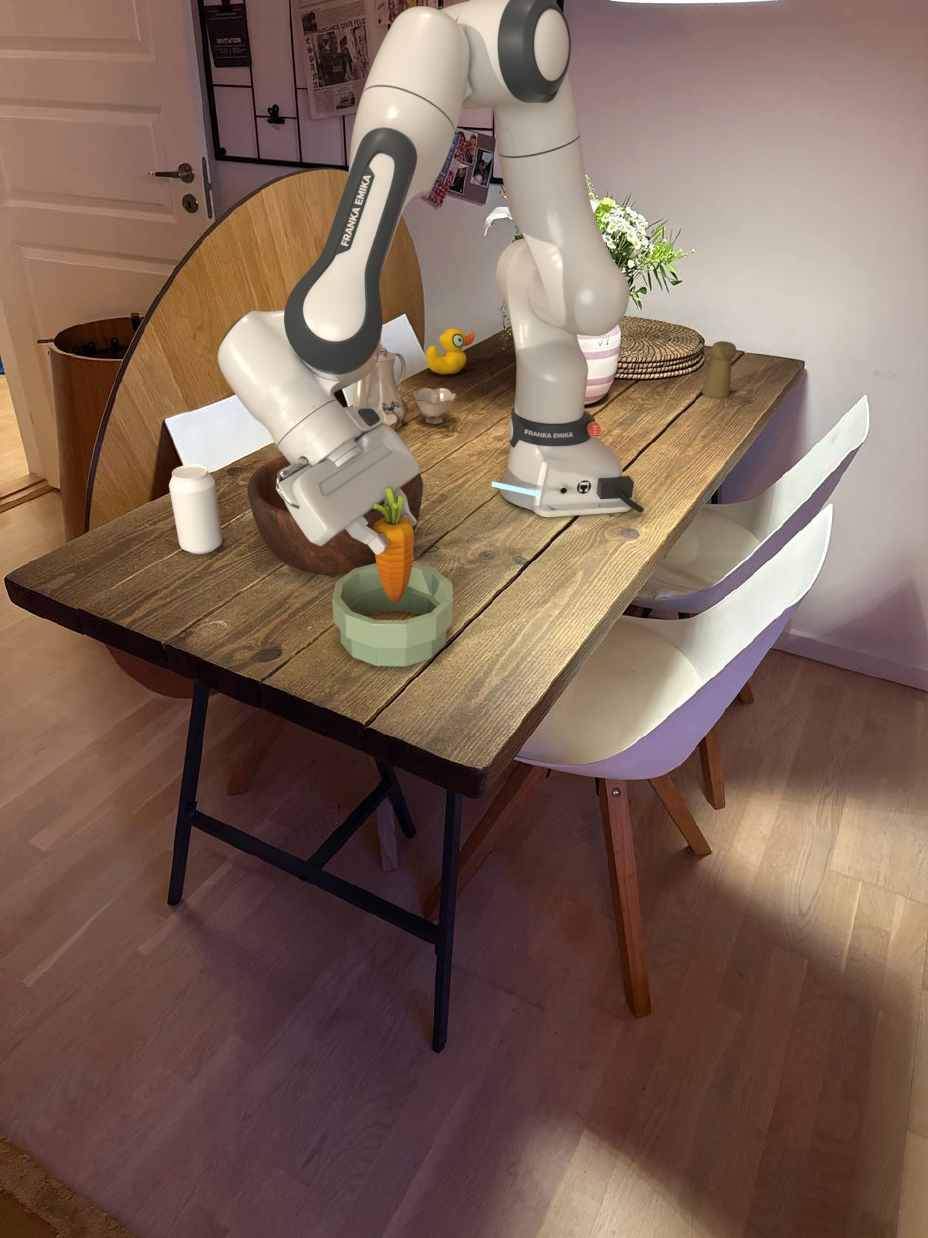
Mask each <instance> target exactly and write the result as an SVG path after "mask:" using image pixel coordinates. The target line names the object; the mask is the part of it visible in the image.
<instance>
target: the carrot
mask: <svg viewBox="0 0 928 1238" xmlns="http://www.w3.org/2000/svg"><path fill="white" fill-rule="evenodd" d="M385 491H386V494H387V497H388V500H389V503H390V505H389V504H388V503H384V504H383V506H384V507H383V506H381V505H378V504H374V505H373V509H375V510H378V511H380V512H381V513H382V514H383V515H384V516H385V517H384V518H382V519H380V520H379V521H377V522H376V523H375V524H374V526H373V531H375V532H376V533H378V534H381V533H382V532H383V533H384V534H385V535H386V537H387V539H389V540H390V542H391V545H390V546H389V547H388V548H387V549H385V550H384V551H383V552H382V553H380V554H379V555H376V554H375V558H376V563H377V567H378V572H379V576H380V580H381V584H382V586H383V588H384V591H385V593H386V594H387V596H388V597H389V599H390V600H391V601H392V602H393V603H397V602H398V601H399V600H400V599H401V597H402V596H403V594H404V592H405V590H406V588H407V586H408V583H409V579H410V575H411V570H412V564H413V563H414V547H415V542H414V541H415V531H414V532H413V528H412V525H411V522H410V521H409V520H408V519H405V518H402V517H399V516H400V513H401V510H402V506H403V497H402V496H401V495H399V496H398V501H397V502H396V498H395V494H394V492H393V489H392V488H389V487H388V488H387V489H385ZM390 507H391V508H390Z"/></svg>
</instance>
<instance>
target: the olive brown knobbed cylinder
mask: <svg viewBox="0 0 928 1238" xmlns="http://www.w3.org/2000/svg"><path fill="white" fill-rule="evenodd" d="M736 354H737V346H736V345H735V344H734V343H733V342H730V341H721V340H720V341H716V342H714V343H713V344H712V346H711V348H710V355H711V357H712V358H711V361H710V364H709V367H708V370H707V373H706V377H705V379H704V383H703V386H702V389H701V393H702V395H705V396H707V397H711V398H727V397H729V396H730V391H731V376H732V375H731V374H732V362H733V361H732V360H733V359H734V358H735V356H736Z"/></svg>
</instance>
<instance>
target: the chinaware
mask: <svg viewBox="0 0 928 1238" xmlns="http://www.w3.org/2000/svg"><path fill="white" fill-rule="evenodd" d="M396 358H398V359H399V361H400V374H399V377H398V379H397V381H396V380H395V374H394V372H395V369H394V366H395V362H396V361H395V359H396ZM405 375H406V360H405V358H404V357H403V355H402V354H400V353H399V352H398V353H397V352H391V351H388V349H386V348H385V347H384V346H383V344H382V343H381V349H380V355H379V359H378V361H377V363H376V365H375V367H374V368H373V370H372V371H371V372H370V373H369V374H368V375H367V376H366V377H365V378H363V379H362V380H360V381H358V382H356V383H355V388H354V393H353V397H352V407H376V408H378V409H379V410H380V412H381V413H382V414H383V416H384V418H385V419H384V421H383V423H382V424H380V425H386V426H389V427H390V428H392V429H393V430H394V431H395V432H396V431H397V430H399V429H401V428H402V427H403V423H402V422H403V420H404V419H405V417H406V415H407V414H408V412H409V406H408V404H407V403H406V401H405V400H404V398H403V397H402V395H401V393H402V390H403V388H402V386H401V385H400V384H401V383H402V382H403V380H404V378H405ZM411 397H412V398H413V399H414V400H415V404H416V407H417V410H418V411H419V413H420V414H421V415H422V416H423V417H425V423H428V424H433V425H438V424H441V423H443V418H445V417H446V416H447V415H448V414H449V413H450V411H451V409H452V406H453V403H454V401H455V400H456V399H457V397H458V394H457V393H453V392H452V391H450V390H449V389H448V388H446V387H439V388H436V389H432V388H430V387H422V388H420V389H418V390H417V392H413V393H412V394H411Z"/></svg>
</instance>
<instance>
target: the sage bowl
mask: <svg viewBox="0 0 928 1238" xmlns="http://www.w3.org/2000/svg"><path fill="white" fill-rule="evenodd" d="M453 587H454V584H453V583H452V582H451V581H450V580H449V579H448V578H446V576H444V575H443V574H442V573H441V572H440V571H439V570H438V569H434V568H432V567H429V566H425V565H422V564H419V563H415V562H413V564H412V570H411V575H410V579H409V583H408V586H407V588H406V590H405V592H404V594H403V596H402V597H401V599H400V600H399V601H398V602H397V603H393V602H392V601H391V600H390V599H389V597H388V596H387V594H386V593H385V591H384V588H383V586H382V584H381V580H380V576H379V572H378V567H377V563H374V564H370V565H366V566H363V567H359V568H355V569H353V570H352V571H350V572H349V573H348V574H344V575H343V576H342V577H340V578H339V579H338V580H337V581H335V583H334V587H333V593H332V598H331V601H332V604H331V605H332V618H333V619H332V620H333V621H332V622H333V624H335V626H336V627H337V629H339V636H340V637H339V638H340V643H341V644H342V646H343V647H344V648H345V650H346V651H347V652H348V653H349V654H350V656H351V657H352V658H354V659H356V660H359V661H361V662H365V663H367V664H369V665H373V666H375V667H410V666H413V665H415V664H418V663H421V662H425V661H428V660H431V659H432V658H434V657H435V656H436V654H437V653H439V652H440V651H441V650H442V649H443V648H444V647H445V646H446V645H447V629H449V628H450V627H451V626H452V624H453V613H454V612H453V607H454V605H453V604H454V588H453ZM383 612H409V613H412V614H414V615H417V616H415V617H412V618H408V619H404V620H403V619H376V618H372V617H370V616H373V615H376V614H379V613H383Z"/></svg>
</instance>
